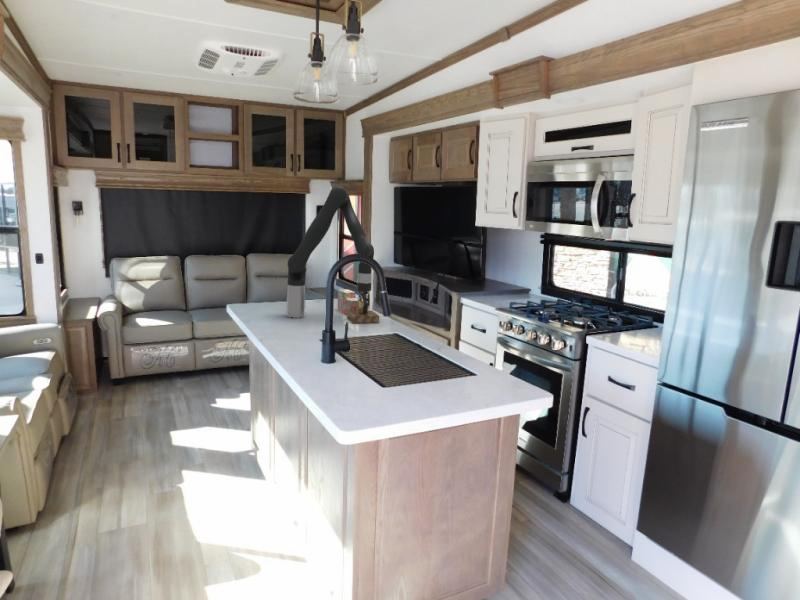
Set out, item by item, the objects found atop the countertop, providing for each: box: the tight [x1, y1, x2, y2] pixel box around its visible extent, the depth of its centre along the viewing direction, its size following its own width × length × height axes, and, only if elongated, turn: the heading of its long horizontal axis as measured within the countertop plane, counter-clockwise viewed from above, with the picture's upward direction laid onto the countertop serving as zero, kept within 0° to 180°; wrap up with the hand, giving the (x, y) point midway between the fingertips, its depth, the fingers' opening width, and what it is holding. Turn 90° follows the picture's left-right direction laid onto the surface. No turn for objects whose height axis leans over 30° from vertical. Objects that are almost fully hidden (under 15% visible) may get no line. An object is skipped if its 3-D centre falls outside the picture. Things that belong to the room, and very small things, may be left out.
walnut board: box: [346, 310, 380, 325], centre depth 292 cm, size 14×14×4 cm
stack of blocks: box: [337, 289, 359, 316], centre depth 309 cm, size 21×6×12 cm, turn 25°
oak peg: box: [359, 300, 370, 314], centre depth 291 cm, size 5×5×10 cm
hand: (363, 311), depth 291 cm, fingers open, 8 cm apart
